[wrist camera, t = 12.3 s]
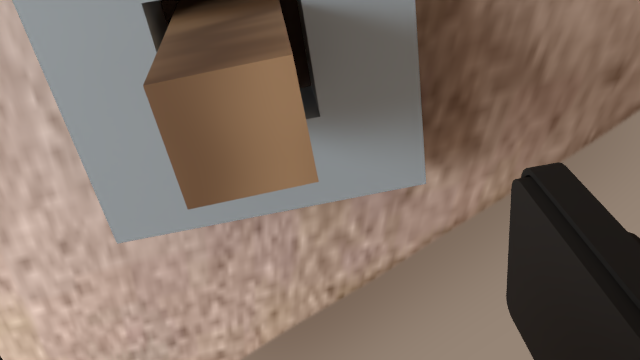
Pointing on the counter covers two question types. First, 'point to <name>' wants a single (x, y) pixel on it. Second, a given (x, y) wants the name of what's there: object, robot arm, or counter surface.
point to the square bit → (230, 102)
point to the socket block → (318, 99)
